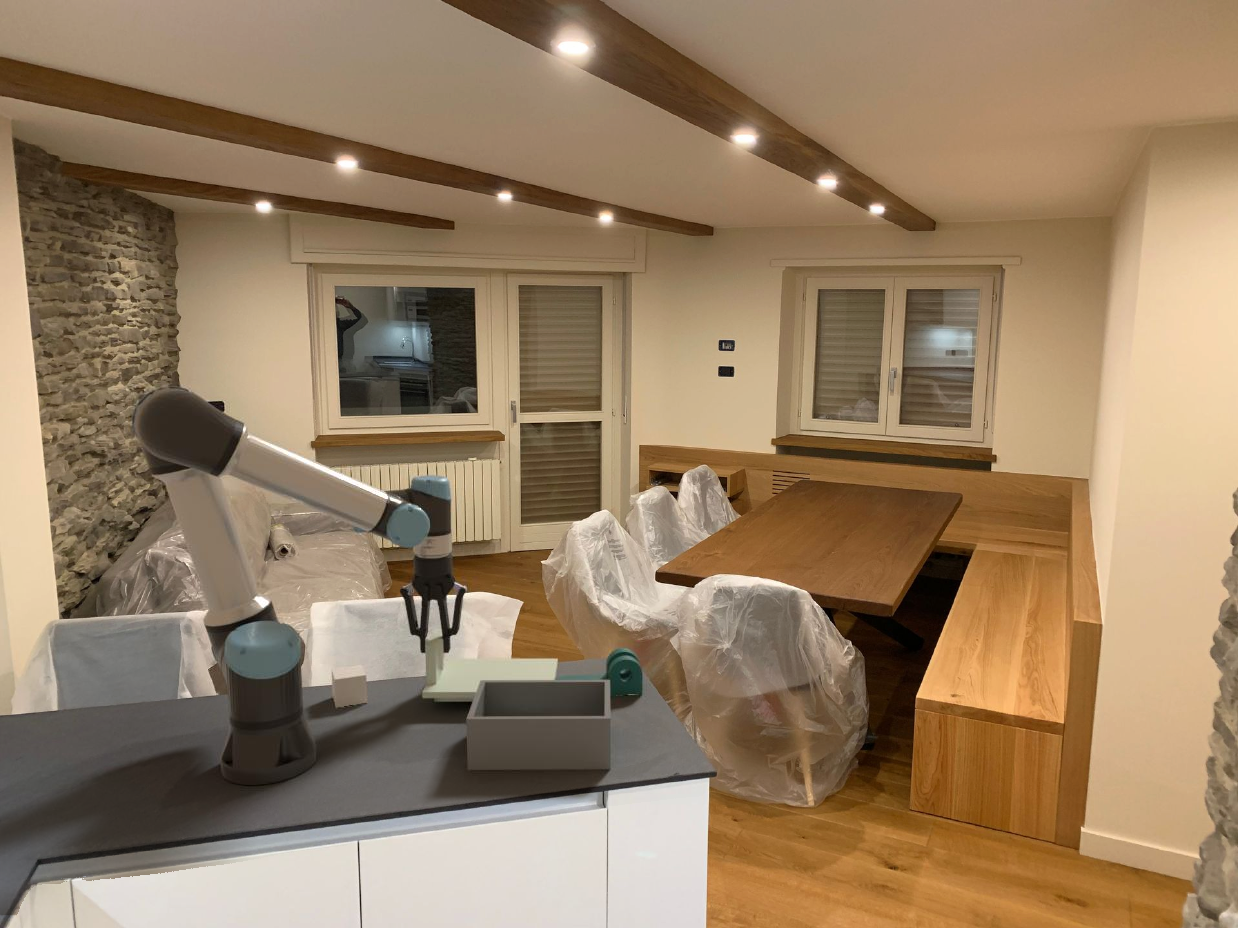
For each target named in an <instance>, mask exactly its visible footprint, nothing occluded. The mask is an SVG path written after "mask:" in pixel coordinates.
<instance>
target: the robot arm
mask: <svg viewBox="0 0 1238 928" xmlns="http://www.w3.org/2000/svg"><path fill="white" fill-rule="evenodd" d="M131 426H132V429H133V433H134V435H135V437H136V438H137V439H138V441H139V445H140V447H141V450H142V454H143V456H144V458H145V461H146V463H147V466H148V469H149V473H150V474H151V475H150V476H151V477H153V478H155V479H157V480H160V482H161V481H162V482H163V483H164V485H165V488H166V490H167V494H168V496H169V499H170V502H171V505H172V507H173V510H174V513H175V517H176V520H177V522H178V525H179V528H180V531H181V533H182V536H183V538H184V541H185V545H186V547H187V551H188V553H189V555H190V559H191V563H192V564H193V568H194V570H195V571H194V572H196V573H195V574H196V576H197V579H198V581H199V585H200V586H201V591H202V593H203V596H204V599H205V602H206V604H207V607H208V609H207V612H206V614H205V615H204V617H203V620H202V622H203V625H204V627H205V630H206V633H207V636H208V639H209V641H210V645H211V647H210V649H211V653H212V655H213V658H214V660H215V662H216V663H217V664H218V666H219V669H220V670H221V673H222V675H223V678H224V679H225V681H226V687H227V688H226V689H227V700H228V701H227V702H228V703H227V704H228V714H229V715H228V716H229V728H228V732H227V735H226V738H225V742H224V745H223V748H222V753H221V756H220V773H221V776H222V777H223V778H224V780H226V781H228V782H231V783H234V784H237V785H247V786H258V785H268V784H274V783H278V782H282V781H286V780H288V779H289V780H290V779H293V778H294V777H296V776H299V775H301V774H302V773H304V772H306V771H307V770H308V769H310V768H311V767H312V766H313V765H314V764H315V762H316V761H317V745H316V742H315V738H314V737H313V735H312V732H311V729H310V726H309V725H308V723H307V720H306V718H305V715H304V701H303V678H302V663H301V662H302V659H301V657H302V656H301V655H302V644H301V641H300V637H299V633H298V631H297V629H295V628H294V626H292V625H289V624H287V623H285V622H282V623H280V621H279V619H278V617H277V613H276V610H275V606H274V604H273V601H272V598H271V596H270V595H267V594H265V593H262V592H260V591H259V588H258V586H257V582H256V579H255V575H254V573H253V570H252V567H251V563H250V561H249V558H248V555H247V552H246V549H245V546H244V543H243V540H242V537H241V533H240V532H239V528H238V525H237V522H236V518H235V516H234V513H233V510H232V507H231V504H230V500H229V498H228V495H227V492H226V489H225V486H224V483H223V480H222V477H223V476H230V477H233V478H236V479H239V480H241V481H243V482H246V483H248V484H251V485H253V486H256V487H258V488H260V489H263V490H266V491H267V492H270V493H273V494H275V495H278V496H281V497H283V498H285V499H288V500H290V501H292V502H295V503H298V504H299V505H303V506H305V507H307V508H309V509H312V510H314V511H316V512H318V513H319V512H320V513H322V514H324V515H326V516H330V517H332V518H334V519H337V520H339V521H342V522H344V523H346V524H349V525H350V527H351V529H352V530H353V532H355V533H358V534H359V533H361V534H362V533H363V534H364V533H367V534H373V535H375V536H377V537H380V538H383V539H385V540H387V541H389V542H391V543H392V544H394V545H395V546H398V547H402V548H412V550H413V551H412V552H413V553H414V556H413V579H412V580H411V582H410V583H409V584H405V585H404V584H403V586H402V587H401V588H400V590H399V593H400V595H401V597H402V598H403V600H404V605H405V612H406V616H407V617H406V618H407V622H408V627H409V628H408V629H409V633H410V635H411V636H416V637H418V638H419V643H420V644H419V648H420V653H421V654H425V644H426V643H427V641H428V639H429V638H430V636H431V634H428V633H429V620H430V609H431V608H430V606H431V601H437V603H436V604H437V606H438V613H439V619H440V628H441V629H442V635H441V636H440V638H439V660H440V670H444V668H445V666H446V659H447V658H446V654H450V653H449V652H451V651H450V650H451V637H452V636H457V634H458V633H459V631H460V627H461V617H462V611H463V604H464V603H463V601H464V595H465V594H466V593H467V590H468V586H467V584H463V585H462V584H460V583H458V582H456V579H455V577H454V574H453V573H454V571H453V555H452V554H451V552H452V551H453V538H452V535H453V534H452V501H453V500H452V493H451V485H450V480H449V479H448V478H447V477H445V476H442V475H435V474H431V475H430V474H429V475H428V474H427V475H419V476H415V477H413V478H412V479H411V481H410V482H411V483H410V485H409V487H408V488H404V489H394V490H393V489H392V490H382V489H379V488H377V487H375V486H372V485H370V484H368V483H365V482H364V481H361V480H359V479H356V478H354V477H352V476H349V474H348V475H347V474H346V473H343V472H340V471H338V470H336V469H334V468H331V467H329V466H327V465H325V464H322V463H320V462H319V461H315V460H313V459H311V458H310V457H307V456H304V455H302V454H300V453H297V452H295V451H293V450H290V449H288V448H286V447H284V446H281V445H279V444H278V443H275V442H273V441H271V440H268V439H266V438H264V437H261V436H259V435H257V434H256V433H252V432H250V431H249V430H248V427H247V425H246V423H245V422H243V421H241V420H238V419H236V418H234V417H232V416H230V415H228V414H226V413H225V412H223V411H222V410H220V409H218V408H216V407H215V406H214V405H212V404H210V403H209V402H208V401H207V400H205V399H204V398H203V397H202V396H199V395H198V394H196V393H195V392H193V391H192V390H189V389H187V388H185V387H182V386H181V387H179V386H172V385H170V386H165V387H159V388H157V389H153V390H151V391H150V392H148V393H147V394H145V395H144V396H142V398H140V399H139V400H138V402H137V403H136V405H135V407H134V409H133V412H132V418H131ZM452 589H453V590H454V592H453V593H454V595H455V598H454V608H453V616H452V625H451V626H450V618H449V609H448V602H447V601H448V597H447V596H448V595H449V594H450V592H451V591H452ZM415 591H416V592H417V594H418V595H419V597H420V598H421V602H420V603H421V604H420V605H421V608H420V609H421V612H420V622H419V621H418V616H417V609H416V605H415V597H414V593H415ZM418 622H419V623H420V624H419V623H418Z"/></svg>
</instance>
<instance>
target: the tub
mask: <svg viewBox="0 0 1238 928" xmlns="http://www.w3.org/2000/svg"><path fill="white" fill-rule="evenodd" d="M465 723H466V751H467V752H466V754H467V755H466V757H467V762H466V763H467V764H466V765H467V771H501V770H502V771H514V770H515V771H516V770H517V771H519V770H524V771H525V770H528V771H529V770H531V771H532V770H537V771H539V770H540V771H543V770H545V771H546V770H552V771H553V770H611V696H610V680H481V681H480V683H479V686H478V689H477V692H476V694H475V697H474V700H473V701H471V705H470V708H469V712H468V714H467V716H466V722H465Z"/></svg>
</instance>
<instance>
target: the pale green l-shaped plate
mask: <svg viewBox="0 0 1238 928" xmlns="http://www.w3.org/2000/svg"><path fill="white" fill-rule="evenodd" d="M430 635H431V636H430V638H429V639H428V641H427V643H426V644H425V653H424V654H425V681H426V685H425V686H424V688H423V690H422V692H421V696H422V697H421V698H422V699H433V700H434V702H435V703H436V702H441V703H442V702H443V703H444V702H473V700H474V697H475V694H476V692H477V689H478V686H479V683H480V681H481V680H555V679H556V677H557V672H558V665H559V661H558V658H446V666H445V668H444V670H440V660H439V638H440V636H441V635H442V629H441V627H440V628H439V627H438V628H434V629H433V631H432V633H431V634H430Z"/></svg>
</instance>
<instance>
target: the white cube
mask: <svg viewBox="0 0 1238 928" xmlns="http://www.w3.org/2000/svg"><path fill="white" fill-rule="evenodd" d="M331 683H332V684H331V688H332V689H331V691H332V699H334V700H333V702H335V703H334V706H335V708H336V707H341V708H345V707H344V706H348V707H350V706H349V705H354V706H357V705H356V704H361V703H367V704H368V689H367V687H368V685H367V684H368V683H367V674H366V671H365V669H364V667H363V664H359V665H352V666H345V667H337V668H331ZM361 705H362V704H361Z"/></svg>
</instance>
